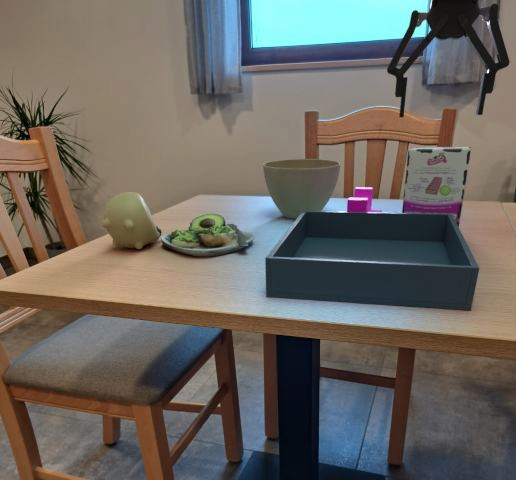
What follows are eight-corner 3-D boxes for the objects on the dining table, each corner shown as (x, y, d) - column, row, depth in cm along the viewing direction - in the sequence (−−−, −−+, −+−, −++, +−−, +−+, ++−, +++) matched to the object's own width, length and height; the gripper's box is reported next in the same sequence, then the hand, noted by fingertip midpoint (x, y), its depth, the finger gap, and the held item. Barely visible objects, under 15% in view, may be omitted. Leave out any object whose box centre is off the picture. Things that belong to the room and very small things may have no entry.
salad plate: (280, 246, 90) (279, 222, 87) (200, 266, 80) (198, 240, 78) (225, 229, 103) (223, 208, 101) (152, 244, 94) (149, 221, 92)
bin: (446, 245, 87) (451, 213, 85) (471, 310, 60) (479, 268, 58) (302, 239, 94) (303, 210, 91) (266, 296, 67) (265, 257, 64)
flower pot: (254, 222, 109) (252, 167, 103) (276, 207, 124) (275, 158, 118) (330, 225, 103) (332, 168, 98) (343, 209, 119) (346, 158, 113)
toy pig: (159, 265, 93) (175, 221, 97) (131, 230, 82) (150, 182, 86) (118, 259, 96) (135, 217, 99) (85, 226, 85) (106, 179, 89)
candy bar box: (458, 232, 95) (472, 146, 87) (457, 238, 91) (472, 148, 83) (402, 229, 99) (411, 146, 91) (398, 234, 95) (408, 148, 87)
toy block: (376, 239, 93) (380, 200, 89) (345, 237, 94) (347, 199, 91) (381, 222, 105) (384, 187, 102) (353, 221, 107) (355, 187, 103)
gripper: (379, -25, 76) (369, 118, 86) (549, -43, 70) (517, 114, 80) (380, -16, 82) (371, 117, 92) (536, -31, 76) (508, 113, 86)
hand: (439, 116), depth 86 cm, fingers open, 13 cm apart
